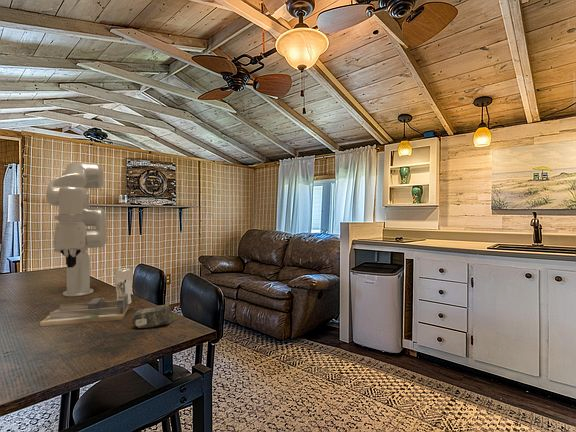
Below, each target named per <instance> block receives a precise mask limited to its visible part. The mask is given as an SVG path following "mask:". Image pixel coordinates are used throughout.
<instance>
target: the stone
mask: <svg viewBox="0 0 576 432" xmlns="http://www.w3.org/2000/svg"><path fill="white" fill-rule="evenodd" d="M173 321H174V315H173V310H172V307H171V306H170V305H169V304H161V305H156V306H151V307H149V308H147V307H146V308H141V309H138V310H136V311H135V313H133V314H132V316H131V324H132V326H133V327H135V328H136V327H137V328H139V329H145V328H154V327H160V326H164V325H167V326H168V325H170V324H172V322H173Z"/></svg>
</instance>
